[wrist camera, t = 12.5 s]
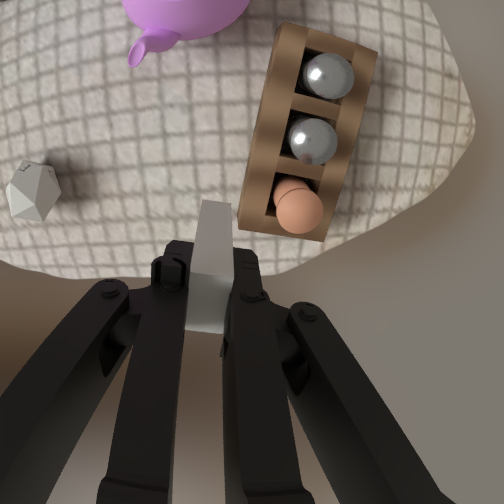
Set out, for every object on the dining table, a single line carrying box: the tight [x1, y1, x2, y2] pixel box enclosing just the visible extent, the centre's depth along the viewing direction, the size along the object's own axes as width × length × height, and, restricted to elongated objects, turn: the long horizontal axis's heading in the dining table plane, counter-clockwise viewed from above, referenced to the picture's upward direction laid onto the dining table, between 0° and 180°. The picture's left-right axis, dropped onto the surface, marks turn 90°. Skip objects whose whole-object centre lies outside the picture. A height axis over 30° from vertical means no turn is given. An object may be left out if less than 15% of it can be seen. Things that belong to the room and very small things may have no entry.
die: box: [6, 160, 61, 222], centre depth 36 cm, size 8×9×10 cm
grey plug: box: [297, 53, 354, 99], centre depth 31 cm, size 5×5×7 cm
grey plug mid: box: [284, 115, 337, 165], centre depth 35 cm, size 5×5×7 cm
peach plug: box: [272, 175, 323, 234], centre depth 38 cm, size 5×5×7 cm
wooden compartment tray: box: [237, 22, 378, 242], centre depth 37 cm, size 27×12×5 cm, turn 169°
